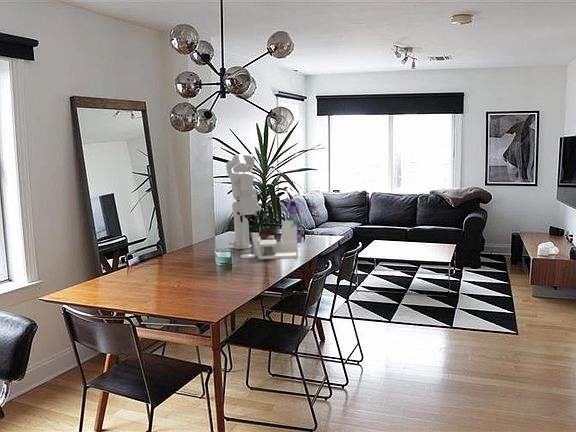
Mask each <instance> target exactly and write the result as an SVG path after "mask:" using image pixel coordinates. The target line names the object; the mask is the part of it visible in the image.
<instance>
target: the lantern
mask: <svg viewBox="0 0 576 432" xmlns="http://www.w3.org/2000/svg"><path fill="white" fill-rule="evenodd" d="M288 201H289V203H287V205H286V214H285V220H286V221H293V223H294V224H295V225H296V227H297V243H300V242H302V240H303V235H302V234H303V224H302V216H301V213H300V206H299V203H298V202H297V199H294V198H291V199H289V200H288ZM297 214H298V215H297ZM299 227H300V233H299V232H298V231H299Z"/></svg>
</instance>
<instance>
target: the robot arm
mask: <svg viewBox="0 0 576 432" xmlns="http://www.w3.org/2000/svg"><path fill="white" fill-rule="evenodd" d="M254 166H255V157H254V156H253V154H250V153H239V154H236V155H233V157H232V158H231V160H228V161H227V162H226V164H225V169H226V173H227V175H228V178H229V179H230V183H231V193H232V198H233V199H234V200H236V201H234V202H233V203H232V204H231V209H232V215H233V225H234V241H228V245H229V246H232V248H233V249H237V250H244V249H251V248H252V246H253V245H252V244H250V229H249V220H248V218H247V217H245V216H246V215H249V216H250V215H254V216H253V218H254V220H253V221H254V223H257V221H258V215H259V213H260V212H261V211H262V208H261V207H260V206H259V204H258V203H259V202H258V196H257V190H256V187H255V186H254V181H255V176H254V174H253V173H252V170H253V168H254Z"/></svg>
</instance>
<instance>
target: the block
mask: <svg viewBox="0 0 576 432" xmlns="http://www.w3.org/2000/svg"><path fill="white" fill-rule="evenodd" d="M269 255H274V254H273V246H267V247H264V255H263V256H269Z"/></svg>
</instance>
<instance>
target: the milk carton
mask: <svg viewBox="0 0 576 432" xmlns="http://www.w3.org/2000/svg"><path fill="white" fill-rule="evenodd" d="M280 228H281V230H280V231H281V242H295V241H297V234H298V233H297V227H296V225H295V224H294V223H293V221H288V220H287V221H286V219H285V220H284V221H283V223H282V226H281V227H280Z"/></svg>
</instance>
